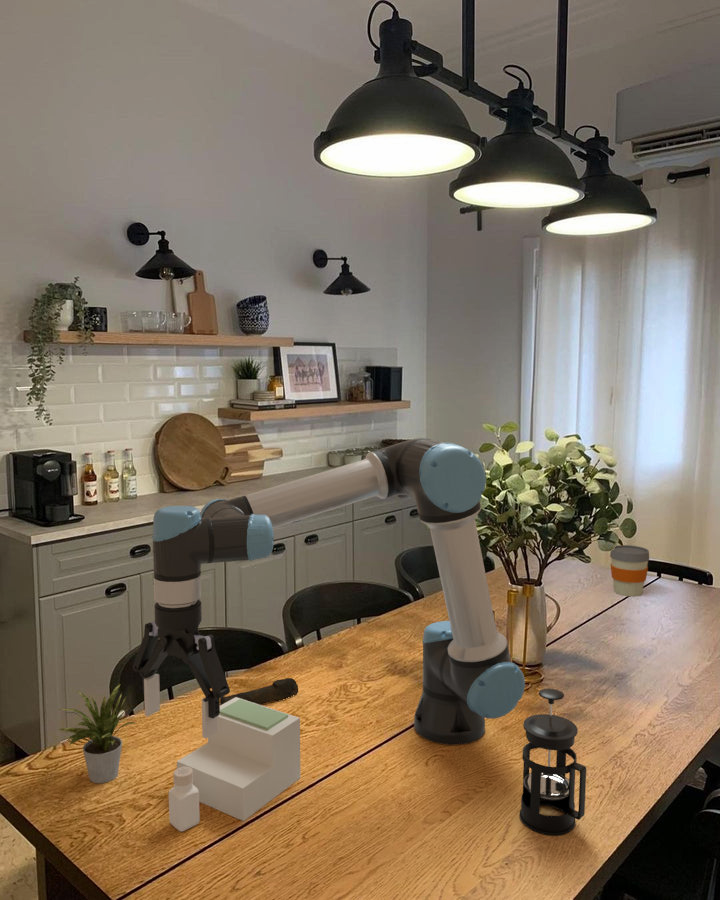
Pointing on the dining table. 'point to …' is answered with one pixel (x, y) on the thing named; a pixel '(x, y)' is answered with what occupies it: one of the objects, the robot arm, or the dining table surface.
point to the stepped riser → (246, 758)
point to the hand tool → (267, 692)
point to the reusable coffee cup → (629, 569)
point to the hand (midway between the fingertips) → (180, 723)
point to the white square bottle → (183, 800)
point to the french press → (551, 773)
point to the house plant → (100, 738)
